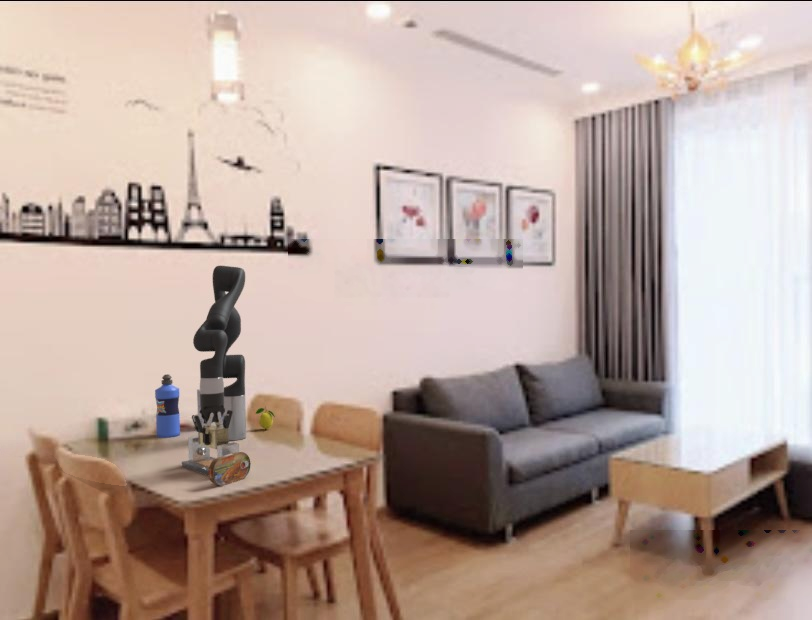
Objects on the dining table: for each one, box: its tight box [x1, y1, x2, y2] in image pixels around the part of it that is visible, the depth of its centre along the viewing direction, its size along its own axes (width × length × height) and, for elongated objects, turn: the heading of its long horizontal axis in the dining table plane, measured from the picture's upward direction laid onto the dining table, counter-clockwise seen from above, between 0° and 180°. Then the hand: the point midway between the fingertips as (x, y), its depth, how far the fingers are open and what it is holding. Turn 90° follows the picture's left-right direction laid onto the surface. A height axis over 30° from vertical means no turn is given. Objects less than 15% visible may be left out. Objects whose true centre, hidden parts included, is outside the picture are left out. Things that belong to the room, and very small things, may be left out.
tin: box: [208, 451, 252, 487], centre depth 203 cm, size 15×3×8 cm, turn 148°
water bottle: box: [154, 374, 181, 439], centre depth 273 cm, size 9×9×25 cm
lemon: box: [254, 407, 276, 431], centre depth 282 cm, size 7×6×10 cm
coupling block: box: [197, 425, 229, 450], centre depth 218 cm, size 12×4×6 cm, turn 45°
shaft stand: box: [181, 435, 240, 476], centre depth 218 cm, size 25×10×10 cm, turn 45°
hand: (213, 443), depth 218 cm, fingers closed on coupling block, 4 cm apart
